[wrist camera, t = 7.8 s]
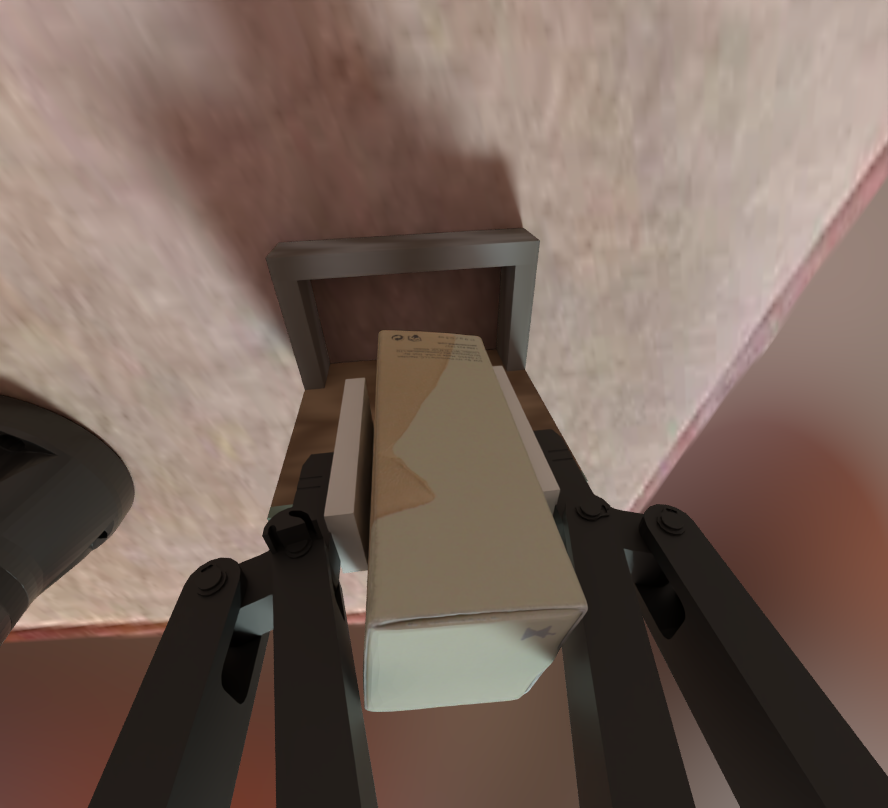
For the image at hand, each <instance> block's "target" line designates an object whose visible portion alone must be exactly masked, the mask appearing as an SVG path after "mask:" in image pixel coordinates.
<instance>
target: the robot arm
mask: <svg viewBox="0 0 888 808" xmlns="http://www.w3.org/2000/svg"><path fill="white" fill-rule="evenodd" d="M492 367H493V369H494V372H495V374H496V377H497V379H498V382H499V384H500V387H501V389H502V392H503V394H504V396H505V399H506V401H507V404H508V406H509V409H510V411H511V414H512V416H513V419H514V421H515V424H516V426H517V429H518V431H519V434H520V436H521V439H522V441H523V444H524V446H525V448H526V451H527V453H528V456H529V459H530V461H531V464H532V466H533V469H534V471H535V474H536V476H537V479H538V481H539V484H540V486H541V488H542V491H543V493H544V496H545V499H546V502H547V504H548V506H549V509H550V511H551V514H552V516H553V518H554V521H555V523H556V526H557V529H558V531H559V534H560V536H561V539H562V541H563V543H564V546H565V549H566V551H567V554H568V556H569V558H570V561H571V563H572V566H573V568H574V571H575V573H576V576H577V578H578V581H579V583H580V586H581V588H582V591H583V593H584V596H585V599H586V601H587V606H588V610H587V612H586V614H585V615H584V616H583V618H582V619H581V620H580V622H579V623H578V624H577V626H576V627H575V628H574V630H573V631H572V632H571V634H570V635H569V637H568V638H567V640H566V641H565V643H564V644H563V646H562V652H563V661H564V670H565V679H566V688H567V697H568V706H569V715H570V724H571V733H572V742H573V752H574V761H575V769H576V779H577V788H578V797H579V806H580V808H695V804H694V801H693V797H692V793H691V790H690V786H689V782H688V779H687V775H686V771H685V768H684V764H683V761H682V757H681V754H680V750H679V746H678V743H677V739H676V736H675V732H674V729H673V725H672V721H671V717H670V714H669V710H668V707H667V703H666V700H665V696H664V692H663V689H662V685H661V682H660V678H659V674H658V671H657V667H656V663H655V660H654V656H653V653H652V649H651V646H650V642H649V638H648V635H647V631H646V628H645V624H644V620H645V622H646V624H647V626H648V628H649V630H650V632H651V634H652V636H653V638H654V640H655V642H656V644H657V646H658V647H659V649H660V651H661V653H662V655H663V657H664V659H665V661H666V663H667V665H668V667H669V669H670V671H671V673H672V675H673V677H674V679H675V681H676V682H677V685H678V686H679V688H680V690H681V692H682V694H683V696H684V698H685V700H686V702H687V704H688V706H689V708H690V710H691V712H692V714H693V716H694V718H695V720H696V721H697V724H698V726H699V728H700V730H701V731H702V733H703V735H704V737H705V739H706V741H707V743H708V745H709V747H710V749H711V751H712V753H713V755H714V757H715V759H716V761H717V763H718V765H719V766H720V769H721V771H722V773H723V774H724V776H725V778H726V780H727V782H728V784H729V786H730V788H731V790H732V792H733V794H734V796H735V798H736V800H737V802H738V804H739V806H740V808H888V776H887V775H886V773H885V772H884V771H883V770H882V768H881V767H880V766H879V764H878V763H877V762H876V760H875V759H874V758H873V757H872V755H871V754H870V753H869V751H868V750H867V748H866V747H865V746H864V745H863V743H862V742H861V741H860V740H859V738H858V737H857V736H856V734H855V733H854V731H853V730H852V729H851V727H850V726H849V725H848V724H847V722H846V721H845V720H844V718H843V717H842V716H841V714H840V713H839V712H838V710H837V709H836V708H835V707H834V705H833V704H832V703H831V701H830V700H829V699H828V697H827V696H826V695H825V693H824V692H823V691H822V689H821V688H820V687H819V685H818V684H817V683H816V682H815V680H814V679H813V677H812V676H811V675H810V674H809V672H808V671H807V670H806V669H805V667H804V666H803V664H802V663H801V662H800V661H799V659H798V658H797V656H796V655H795V654H794V653H793V651H792V650H791V649H790V648H789V646H788V645H787V643H786V642H785V641H784V639H783V638H782V637H781V635H780V634H779V633H778V631H777V630H776V629H775V628H774V626H773V625H772V624H771V622H770V621H769V620H768V618H767V617H766V616H765V614H764V613H763V612H762V610H761V609H760V608H759V606H758V605H757V604H756V603H755V601H754V600H753V599H752V597H751V596H750V595H749V593H748V592H747V591H746V590H745V588H744V587H743V586H742V584H741V583H740V582H739V580H738V579H737V578H736V576H735V575H734V574H733V572H732V571H731V570H730V568H729V567H728V566H727V564H726V563H725V562H724V561H723V559H722V558H721V557H720V555H719V554H718V553H717V551H716V550H715V549H714V547H713V546H712V545H711V544H710V542H709V541H708V539H707V538H706V537H705V536H704V534H703V533H702V532H701V530H700V529H699V528H698V526H697V525H696V524H695V522H694V521H693V520H692V519H691V518H690V517H689V516H688V515H687V514H686V513H684V512H682V511H681V510H679V509H677V508H675V507H672V506H669V505H660V504H656V505H653V506H650V507H649V508H648V509H647V510H646V511H645V513H644V514H640V513H634V512H628V511H622V510H618V509H614V508H612V507H610V505H609V504H608V503H607V502H606V501H605V500H603V499H602V498H600V497H598V496H596V495H594V493H593V492H592V490H591V489H590V487H589V485H588V483H587V481H586V480H585V478H584V476H583V474H582V472H581V470H580V469H579V467H578V465H577V463H576V461H575V460H574V459H573V456H572V454H571V452H570V451H569V449H568V447H567V445H566V443H565V441H564V440H563V438H562V437H561V436H560V435H558V434H557V433H556V432H555V431H554V430H552V429H546V430H536V431H533V430H532V428H531V426H530V424H529V422H528V420H527V417H526V415H525V413H524V411H523V409H522V407H521V405H520V402H519V400H518V398H517V396H516V394H515V392H514V390H513V388H512V385H511V383H510V381H509V379H508V377H507V375H506V373H505V370H504V368H503V366H492ZM373 445H374V425H373V419H372V414H371V408H370V403H369V397H368V391H367V386H366V380H365V378H355V379H346V380H345V386H344V393H343V399H342V405H341V412H340V418H339V424H338V430H337V437H336V443H335V449H334V452H329V453H319V454H311V455H310V456H309V458H308V459H307V460H306V462H305V463H304V464H303V465H302V469H301V473H300V477H299V481H298V485H297V491H296V493H295V497H294V501H293V505H292V507H290V508H287V509H285V510H282V511H280V512H278V513H277V514H276V515H274V516H273V517H272V518H271V519H270V520H269V521H268V523H267V524H266V526H265V527H264V531H263V535H262V536H263V538H264V540H265V542H266V544H267V546H268V548H269V551H267V552H265V553H263V554H261V555H259V556H257V557H254V558H252V559H249V560H247V561H244V562H242V563H239V564H238V563H237V562H236V561H234V560H233V559H231V558H218V559H214V560H211V561H209V562H207V563H205V564H204V565H202V566H200V567H199V568H198V569H197V570H196V571H195V572H194V573H193V574H191V575H190V577H189V579H188V580H187V582H186V583H185V585H184V587H183V589H182V592H181V594H180V596H179V598H178V601H177V603H176V605H175V608H174V610H173V612H172V615H171V617H170V619H169V621H168V624H167V626H166V628H165V631H164V633H163V635H162V638H161V640H160V642H159V645H158V647H157V649H156V651H155V654H154V656H153V659H152V661H151V663H150V665H149V668H148V670H147V672H146V675H145V677H144V679H143V681H142V684H141V686H140V688H139V691H138V693H137V695H136V698H135V700H134V702H133V705H132V707H131V709H130V711H129V714H128V716H127V718H126V721H125V723H124V725H123V728H122V730H121V732H120V735H119V737H118V739H117V742H116V744H115V746H114V748H113V751H112V753H111V755H110V758H109V760H108V762H107V764H106V767H105V769H104V771H103V774H102V776H101V779H100V781H99V783H98V785H97V788H96V790H95V792H94V795H93V797H92V799H91V802H90V804H89V806H88V808H230V805H231V800H232V796H233V792H234V787H235V783H236V778H237V774H238V770H239V765H240V761H241V756H242V752H243V747H244V743H245V739H246V734H247V730H248V726H249V721H250V717H251V712H252V708H253V704H254V699H255V694H256V690H257V686H258V681H259V677H260V672H261V668H262V664H263V659H264V655H265V650H266V646H267V642H268V637H269V632H270V631H271V630H273V635H274V636H273V638H274V690H275V691H274V697H275V753H276V756H275V757H276V808H378V806H377V799H376V793H375V786H374V780H373V775H372V768H371V762H370V756H369V750H368V744H367V738H366V732H365V726H364V720H363V714H362V708H361V702H360V696H359V690H358V684H357V678H356V673H355V666H354V660H353V654H352V648H351V641H350V636H349V629H348V623H347V617H346V611H345V605H344V599H343V593H342V588H341V585H340V582H339V574H340V565H341V568H342V571H343V573H349V572H357V571H365V570H368V558H369V536H370V514H371V491H372V467H373ZM134 493H135V492H134V484H133V481H132V478H131V476H130V473H129V472H128V470H127V468H126V466H125V465H124V464H123V462H122V461H121V460H120V458H119V457H118V456H117V455H116V454H115V453H114V452H113V451H112V450H111V449H110V448H109V447H108V446H107V445H106V444H104V443H103V442H102V441H101V440H99V439H98V438H97V437H95V436H94V435H93V434H91V433H90V432H88V431H87V430H85V429H83V428H82V427H80V426H79V425H77V424H75V423H73V422H71V421H70V420H68V419H66V418H64V417H62V416H60V415H57V414H55V413H53V412H51V411H48V410H46V409H43V408H41V407H38V406H35V405H33V404H30V403H27V402H24V401H20V400H17V399H14V398H10V397H6V396H2V395H0V646H1V644H2V643H3V641H4V640H5V639H6V637H7V636H8V634H9V633H10V631H11V630H12V629H13V627H14V626H15V624H16V623H17V622H18V620H19V619H20V618H21V616H22V615H23V614H24V612H25V611H26V610H27V608H28V607H29V606H30V604H31V603H32V602H33V601H34V600H35V598H36V597H38V596H39V595H40V594H41V593H42V592H44V591H45V590H46V589H47V588H49V587H50V586H51V585H52V584H54V583H55V582H56V581H57V580H58V579H60V578H61V577H62V576H63V575H65V574H66V573H67V572H68V571H69V570H71V569H72V568H73V567H74V566H75V565H77V564H78V563H79V562H80V561H81V560H83V559H84V558H85V557H86V556H87V555H88V554H89V553H90V552H91V551H92V550H94V549H96V548H97V547H99V546H100V545H101V544H102V543H104V542H105V541H106V540H107V539H108V538H109V537H110V536H111V535H112V534H113V533H114V532H115V531H116V529H117V528H118V526H119V525H120V523H121V522H122V520H123V519H124V517H125V516H126V514H127V513H128V511H129V510H130V508H131V506H132V504H133V501H134ZM642 616H643V617H642ZM643 618H644V620H643Z"/></svg>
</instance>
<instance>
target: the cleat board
mask: <svg viewBox="0 0 888 808" xmlns="http://www.w3.org/2000/svg"><path fill="white" fill-rule="evenodd" d="M539 244H540V240H538V239H537V238H536V237H535V236H533V235H532V234H531V233H529V232H528V231H527V230H526V229H524V228H512V229H495V230H479V231H462V232H446V233H429V234H413V235H396V236H380V237H363V238H347V239H330V240H314V241H297V242H281V243H278V244H277V245H276V246H275V248H274V249H273V250H272V251H271V252H270V253H269V255H268V256H267V257H266V261H267V265H268V268H269V271H270V275H271V278H272V281H273V285H274V288H275V291H276V295H277V298H278V301H279V305H280V308H281V312H282V315H283V318H284V322H285V325H286V328H287V332H288V335H289V338H290V342H291V345H292V348H293V352H294V355H295V358H296V362H297V365H298V368H299V372H300V375H301V378H302V382H303V385H304V389H305V392H304V395H303V398H302V402H301V405H300V409H299V412H298V415H297V419H296V422H295V426H294V429H293V432H292V436H291V439H290V443H289V446H288V449H287V453H286V456H285V460H284V463H283V467H282V470H281V473H280V477H279V480H278V484H277V487H276V490H275V494H274V497H273V501H272V504H271V507H270V511H269V514H268V518H267V519H268V521H269V520H270V519H271V518H272V517H273V516H274V515H276V514H277V513H278V512H280V511H282V510H285V509H287V508H290V507H292V505H293V501H294V497H295V493H296V491H297V485H298V481H299V477H300V473H301V469H302V465H303V464H304V463H305V462H306V460H307V459H308V458H309V456H310V455H311V454H319V453H329V452H334V449H335V443H336V437H337V430H338V424H339V418H340V412H341V405H342V399H343V393H344V386H345V380H346V379H355V378H365V380H366V386H367V391H368V397H369V403H370V408H371V414H372V419H373V425H374V424H375V396H376V374H377V360H368V361H356V362H345V363H333V364H330V361H329V357H328V353H327V349H326V345H325V340H324V336H323V332H322V328H321V324H320V319H319V315H318V311H317V307H316V303H315V299H314V294H313V290H312V286H311V282H310V279H325V278H339V277H354V276H368V275H383V274H397V273H412V272H427V271H441V270H456V269H470V268H485V267H499V266H501V278H500V294H499V311H498V328H497V345H496V349H494V350H486V352H487V354H488V357H489V360H490V362H491V364H492V366H503V368H504V370H505V373H506V375H507V377H508V379H509V381H510V383H511V385H512V388H513V390H514V392H515V394H516V396H517V398H518V400H519V402H520V405H521V407H522V409H523V411H524V413H525V415H526V417H527V420H528V422H529V424H530V426H531V428H532V430H533V431H536V430H546V429H552V430H554V431H555V432H556V433H557V434H558V435H560V436H561V437H562V438H563V436H562V434H561V433H560V431H559V429H558V427H557V426H556V424H555V422H554V420H553V418H552V417H551V415H550V413H549V411H548V410H547V408H546V406H545V404H544V402H543V401H542V399H541V397H540V395H539V394H538V392H537V390H536V388H535V387H534V385H533V383H532V381H531V379H530V378H529V376H528V374H527V372H526V371H525V366H526V357H527V349H528V340H529V331H530V323H531V314H532V305H533V296H534V288H535V279H536V270H537V262H538V253H539ZM563 440H564V438H563ZM564 441H565V440H564ZM565 443H566V442H565ZM566 445H567V443H566ZM567 447H568V445H567ZM568 449H569V447H568ZM569 451H570V452H571V450H570V449H569ZM571 454H572V452H571ZM572 456H573V454H572ZM573 459H574V460H575V461H576V459H575V457H574V456H573ZM576 463H577V461H576ZM577 465H578V463H577ZM578 467H579V469H580V470H581V468H580V466H579V465H578ZM581 472H582V470H581ZM582 474H583V476H584V478H585V480H586V481H587V479H586V477H585V475H584V473H583V472H582Z"/></svg>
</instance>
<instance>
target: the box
mask: <svg viewBox="0 0 888 808" xmlns="http://www.w3.org/2000/svg"><path fill="white" fill-rule="evenodd" d="M587 610H588V606H587V601H586V599H585V596H584V593H583V591H582V588H581V586H580V583H579V581H578V578H577V576H576V573H575V571H574V568H573V566H572V563H571V561H570V558H569V556H568V554H567V551H566V549H565V546H564V543H563V541H562V539H561V536H560V534H559V531H558V529H557V526H556V523H555V521H554V518H553V516H552V514H551V511H550V509H549V506H548V504H547V502H546V499H545V496H544V493H543V491H542V488H541V486H540V484H539V481H538V479H537V476H536V474H535V471H534V469H533V466H532V464H531V461H530V459H529V456H528V453H527V451H526V448H525V446H524V444H523V441H522V439H521V436H520V434H519V431H518V429H517V426H516V424H515V421H514V419H513V416H512V414H511V411H510V409H509V406H508V404H507V401H506V399H505V396H504V394H503V392H502V389H501V387H500V384H499V382H498V379H497V377H496V374H495V372H494V369H493V367H492V364H491V362H490V360H489V357H488V354H487V352H486V350H485V347H484V344H483V342H482V339H481V338H480V337H478V336H471V335H461V334H450V333H435V332H420V331H396V330H382V331H380V332H379V335H378V352H377V374H376V396H375V424H374V445H373V467H372V491H371V514H370V536H369V558H368V579H367V601H366V622H365V640H364V661H363V687H364V707H365V709H366V710H368V711H374V712H377V711H378V712H381V711H382V712H384V711H400V710H401V711H402V710H412V709H423V708H433V707H442V706H454V705H462V704H475V703H489V702H497V701H508V700H514V699H518V698H520V697H521V696H522V695H523V694H525V693H527V692H528V691H529V690H530V688H531V687H532V686H533V684H534V683H535V682H536V680H537V679H538V678H539V677H540V675H541V674H542V673H543V671H544V670H545V669H546V668H547V667H548V666H549V665H550V664H551V663H552V662H553V660H554V659H555V657H556V655H557V654H558V652H559V650H560V648H561V647H562V646H563V644H564V643H565V641H566V640H567V638H568V637H569V635H570V634H571V632H572V631H573V630H574V628H575V627H576V626H577V624H578V623H579V622H580V620H581V619H582V618H583V616H584V615H585V614H586V612H587Z"/></svg>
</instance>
